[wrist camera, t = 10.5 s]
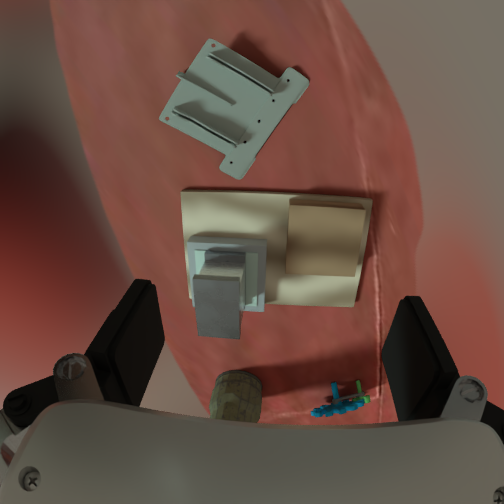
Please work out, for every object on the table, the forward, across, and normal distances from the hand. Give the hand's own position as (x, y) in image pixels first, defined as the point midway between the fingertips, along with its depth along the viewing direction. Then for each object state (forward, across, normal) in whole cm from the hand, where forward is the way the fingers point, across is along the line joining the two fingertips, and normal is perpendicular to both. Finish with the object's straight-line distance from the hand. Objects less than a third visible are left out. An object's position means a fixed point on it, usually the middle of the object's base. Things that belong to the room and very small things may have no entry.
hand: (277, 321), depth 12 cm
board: (+29, 0, +12) cm, 31 cm away
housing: (+25, +6, +15) cm, 30 cm away
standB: (+28, +6, +15) cm, 32 cm away
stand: (+28, -6, +9) cm, 30 cm away
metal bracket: (+30, +6, -7) cm, 31 cm away
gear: (+28, -14, +41) cm, 51 cm away
